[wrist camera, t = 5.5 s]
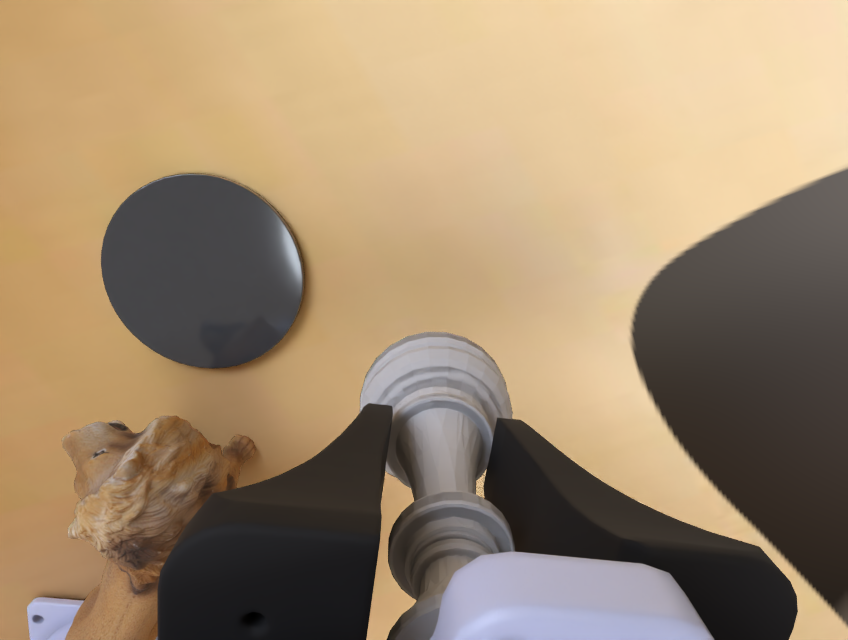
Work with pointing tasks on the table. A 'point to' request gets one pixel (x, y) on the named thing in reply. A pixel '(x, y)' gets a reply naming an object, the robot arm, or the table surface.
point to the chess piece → (439, 464)
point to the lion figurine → (140, 512)
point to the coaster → (202, 270)
